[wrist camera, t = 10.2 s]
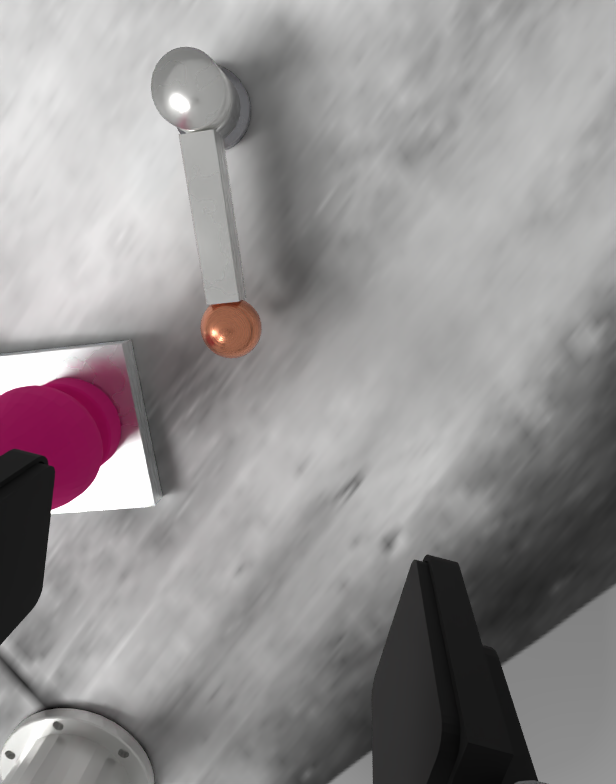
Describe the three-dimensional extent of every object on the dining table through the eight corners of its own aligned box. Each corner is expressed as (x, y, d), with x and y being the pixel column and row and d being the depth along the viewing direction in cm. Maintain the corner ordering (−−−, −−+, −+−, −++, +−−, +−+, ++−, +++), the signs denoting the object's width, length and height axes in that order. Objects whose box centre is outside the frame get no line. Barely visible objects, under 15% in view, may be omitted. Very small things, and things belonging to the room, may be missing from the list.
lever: (171, 76, 31) (142, 51, 27) (235, 66, 31) (215, 38, 26) (216, 351, 35) (196, 366, 31) (273, 345, 34) (261, 360, 30)
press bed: (301, 486, 38) (270, 609, 25) (-49, 511, 41) (-230, 631, 28) (244, 61, 31) (165, -57, 19) (-165, 129, 34) (-465, 67, 22)
